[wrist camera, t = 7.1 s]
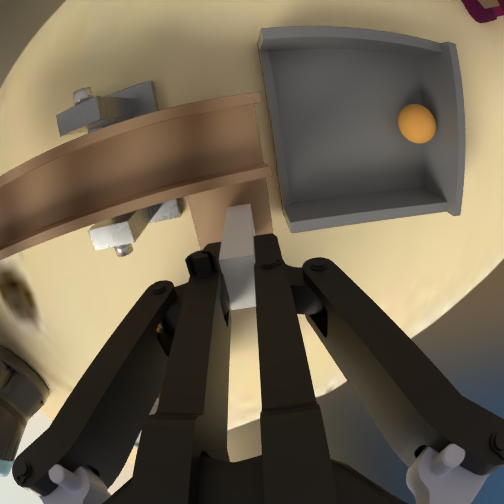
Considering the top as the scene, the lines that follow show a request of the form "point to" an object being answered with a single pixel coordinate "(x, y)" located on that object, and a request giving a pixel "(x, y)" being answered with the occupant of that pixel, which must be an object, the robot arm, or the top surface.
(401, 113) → the ball
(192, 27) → the top surface
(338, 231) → the top surface
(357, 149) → the tray
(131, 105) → the fulcrum
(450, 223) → the top surface
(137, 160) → the lever
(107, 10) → the top surface
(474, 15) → the book
